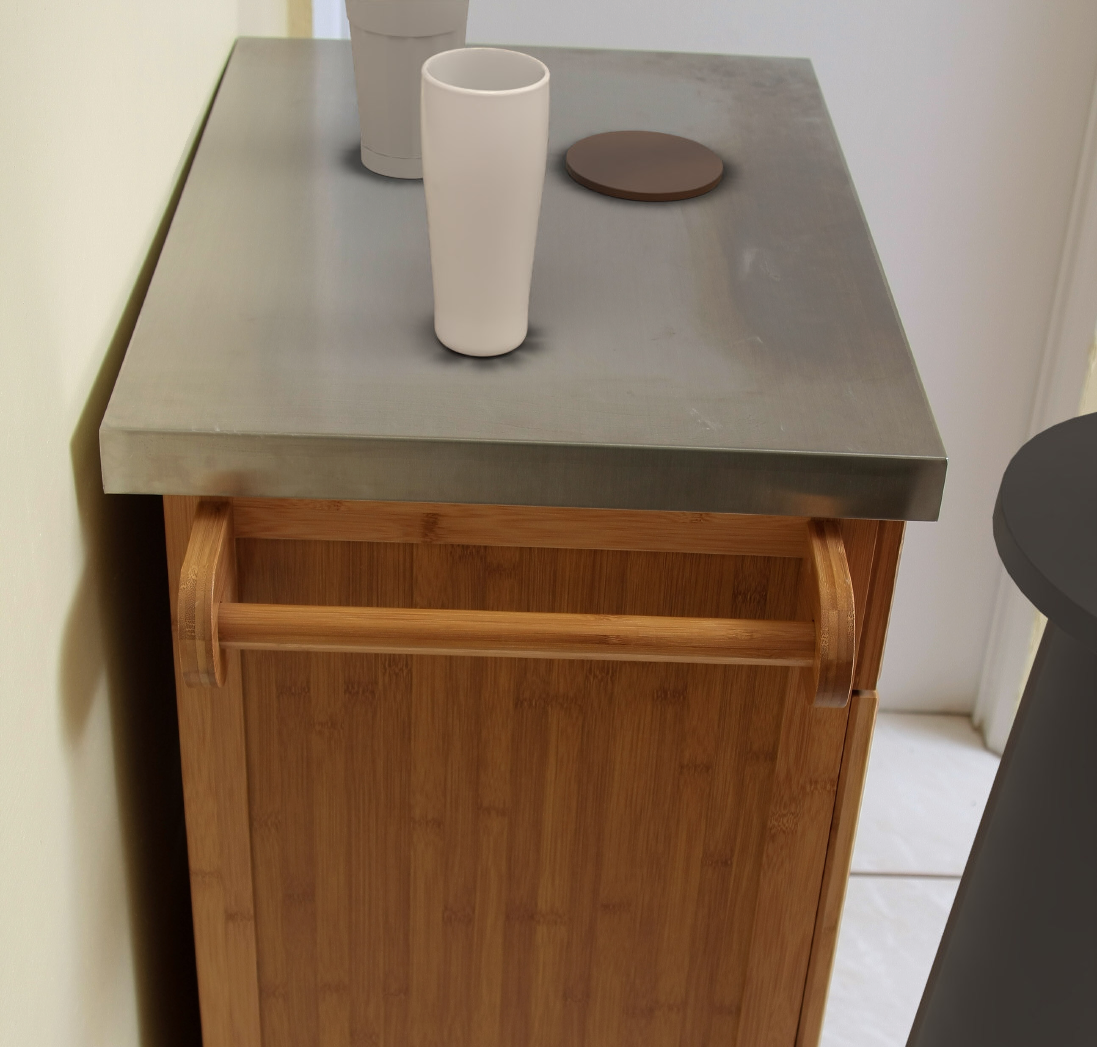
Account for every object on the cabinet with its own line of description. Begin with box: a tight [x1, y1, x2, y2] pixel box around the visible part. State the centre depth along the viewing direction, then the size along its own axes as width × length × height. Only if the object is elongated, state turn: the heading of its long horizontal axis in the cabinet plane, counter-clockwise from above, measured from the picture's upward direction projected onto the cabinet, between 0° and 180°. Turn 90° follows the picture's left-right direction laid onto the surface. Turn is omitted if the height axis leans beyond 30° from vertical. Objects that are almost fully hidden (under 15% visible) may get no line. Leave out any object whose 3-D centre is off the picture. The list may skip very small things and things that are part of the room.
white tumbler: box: [420, 46, 551, 357], centre depth 84 cm, size 7×7×15 cm
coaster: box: [565, 130, 724, 202], centre depth 108 cm, size 11×11×1 cm
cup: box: [344, 0, 470, 180], centre depth 103 cm, size 8×8×13 cm
